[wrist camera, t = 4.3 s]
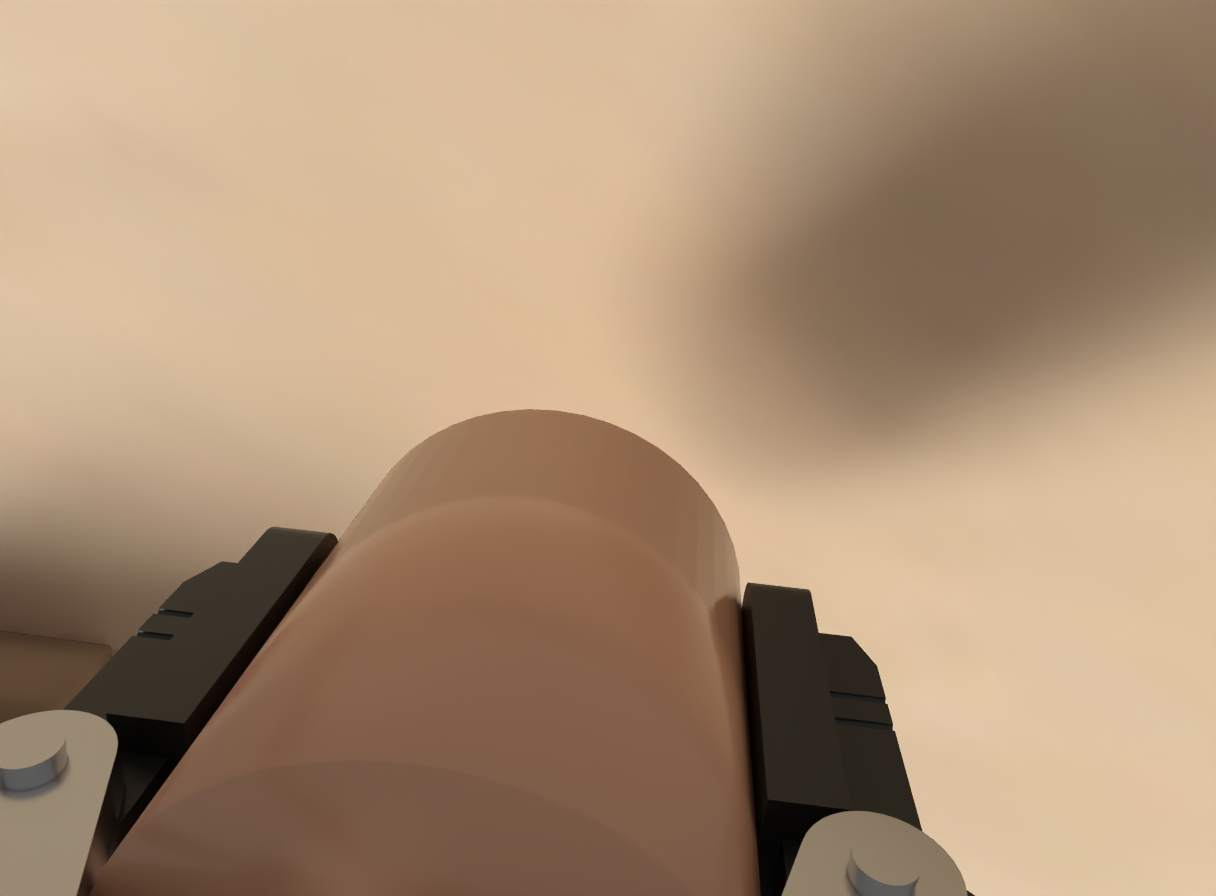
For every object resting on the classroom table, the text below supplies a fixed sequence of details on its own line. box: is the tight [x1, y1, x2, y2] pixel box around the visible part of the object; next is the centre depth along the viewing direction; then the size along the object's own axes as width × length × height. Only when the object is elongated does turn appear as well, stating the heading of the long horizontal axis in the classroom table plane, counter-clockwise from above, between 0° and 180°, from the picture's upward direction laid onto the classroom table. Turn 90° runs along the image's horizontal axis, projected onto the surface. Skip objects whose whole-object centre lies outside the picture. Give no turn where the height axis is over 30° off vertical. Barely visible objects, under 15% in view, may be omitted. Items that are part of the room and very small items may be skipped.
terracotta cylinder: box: [89, 409, 761, 896], centre depth 10 cm, size 5×5×6 cm
